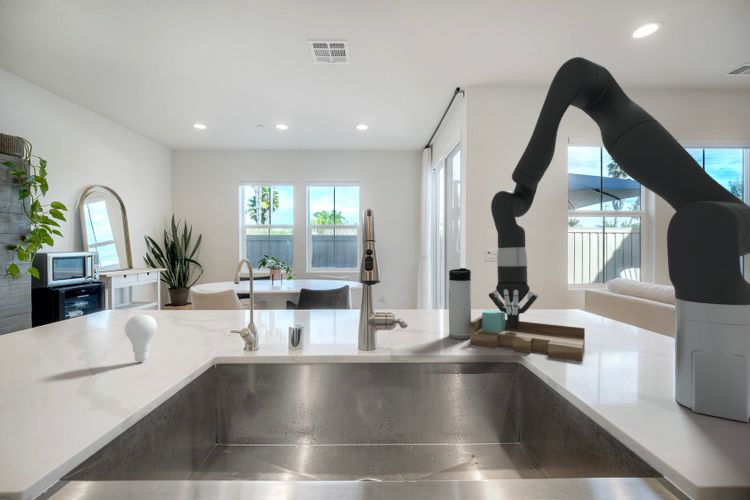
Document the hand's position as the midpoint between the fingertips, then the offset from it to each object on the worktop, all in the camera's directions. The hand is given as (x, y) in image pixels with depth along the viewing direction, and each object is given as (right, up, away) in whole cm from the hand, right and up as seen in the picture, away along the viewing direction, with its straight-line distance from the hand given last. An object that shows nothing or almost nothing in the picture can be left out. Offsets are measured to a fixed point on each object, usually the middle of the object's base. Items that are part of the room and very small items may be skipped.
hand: (513, 327), depth 95 cm
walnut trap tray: (+2, -4, -3) cm, 6 cm away
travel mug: (-13, -4, +7) cm, 15 cm away
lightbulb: (-91, -5, -15) cm, 93 cm away
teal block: (-4, -1, +3) cm, 5 cm away
